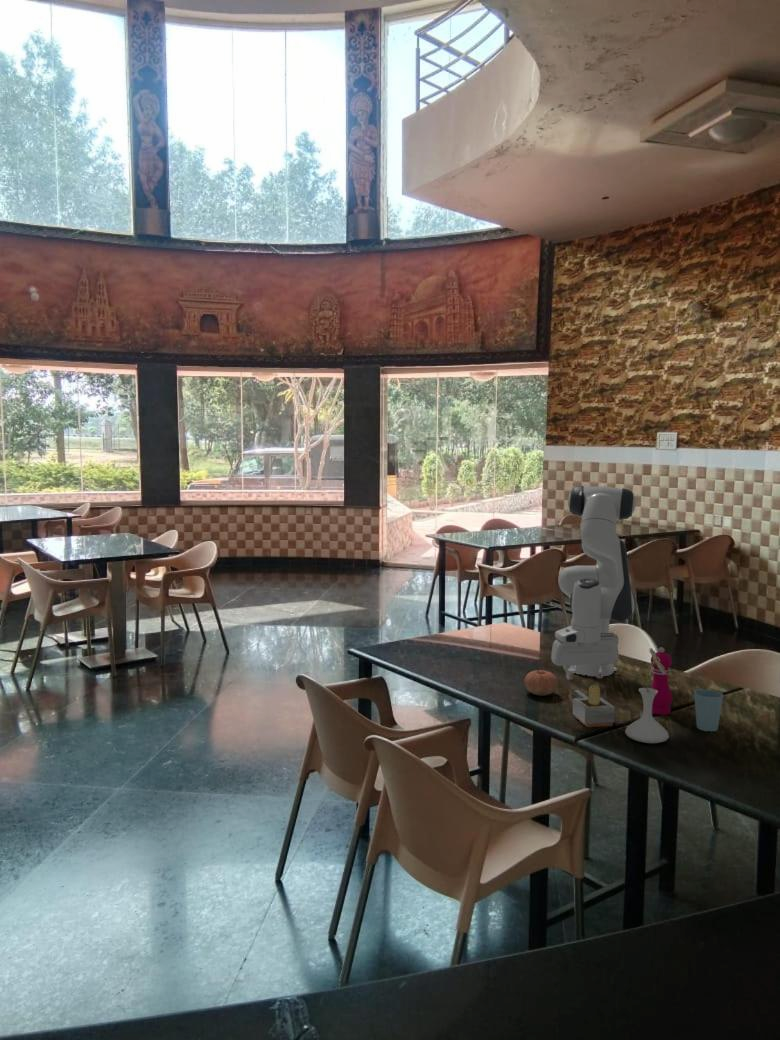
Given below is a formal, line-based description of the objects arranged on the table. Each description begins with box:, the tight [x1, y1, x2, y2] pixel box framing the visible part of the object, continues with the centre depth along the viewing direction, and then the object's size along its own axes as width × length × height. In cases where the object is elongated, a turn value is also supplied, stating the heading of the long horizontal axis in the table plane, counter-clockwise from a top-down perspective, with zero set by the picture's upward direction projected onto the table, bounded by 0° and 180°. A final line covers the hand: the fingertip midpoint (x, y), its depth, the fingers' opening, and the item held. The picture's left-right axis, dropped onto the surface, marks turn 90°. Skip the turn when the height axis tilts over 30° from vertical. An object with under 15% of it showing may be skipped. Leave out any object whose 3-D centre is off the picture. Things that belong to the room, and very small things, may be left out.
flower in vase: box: [624, 647, 670, 744], centre depth 208 cm, size 13×11×25 cm
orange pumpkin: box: [523, 669, 559, 697], centre depth 249 cm, size 11×11×8 cm
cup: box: [693, 688, 724, 733], centre depth 217 cm, size 8×8×10 cm
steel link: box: [572, 689, 616, 724], centre depth 227 cm, size 17×9×4 cm, turn 9°
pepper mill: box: [649, 646, 673, 716], centre depth 232 cm, size 7×7×20 cm
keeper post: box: [574, 684, 614, 728], centre depth 222 cm, size 8×8×11 cm
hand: (584, 678), depth 229 cm, fingers open, 8 cm apart
